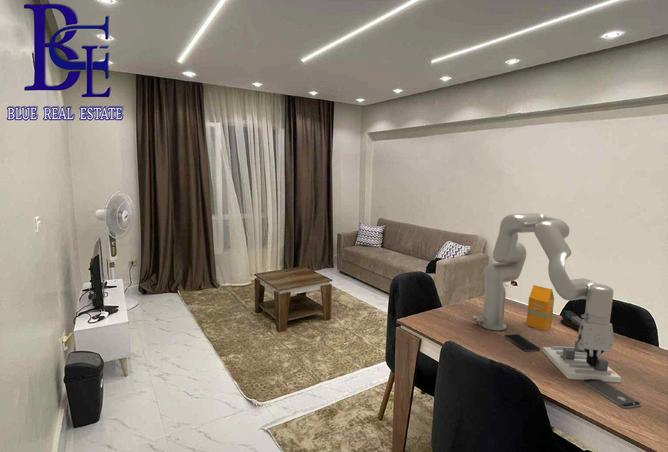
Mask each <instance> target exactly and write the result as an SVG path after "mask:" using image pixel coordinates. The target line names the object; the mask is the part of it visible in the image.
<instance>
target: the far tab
mask: <svg viewBox="0 0 668 452" xmlns="http://www.w3.org/2000/svg"><path fill="white" fill-rule="evenodd" d="M577 346H578V342H577V340H575V343H574V347H575V350H574V351H575V352H585V351H583V350H579V349H578V348H577Z"/></svg>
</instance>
